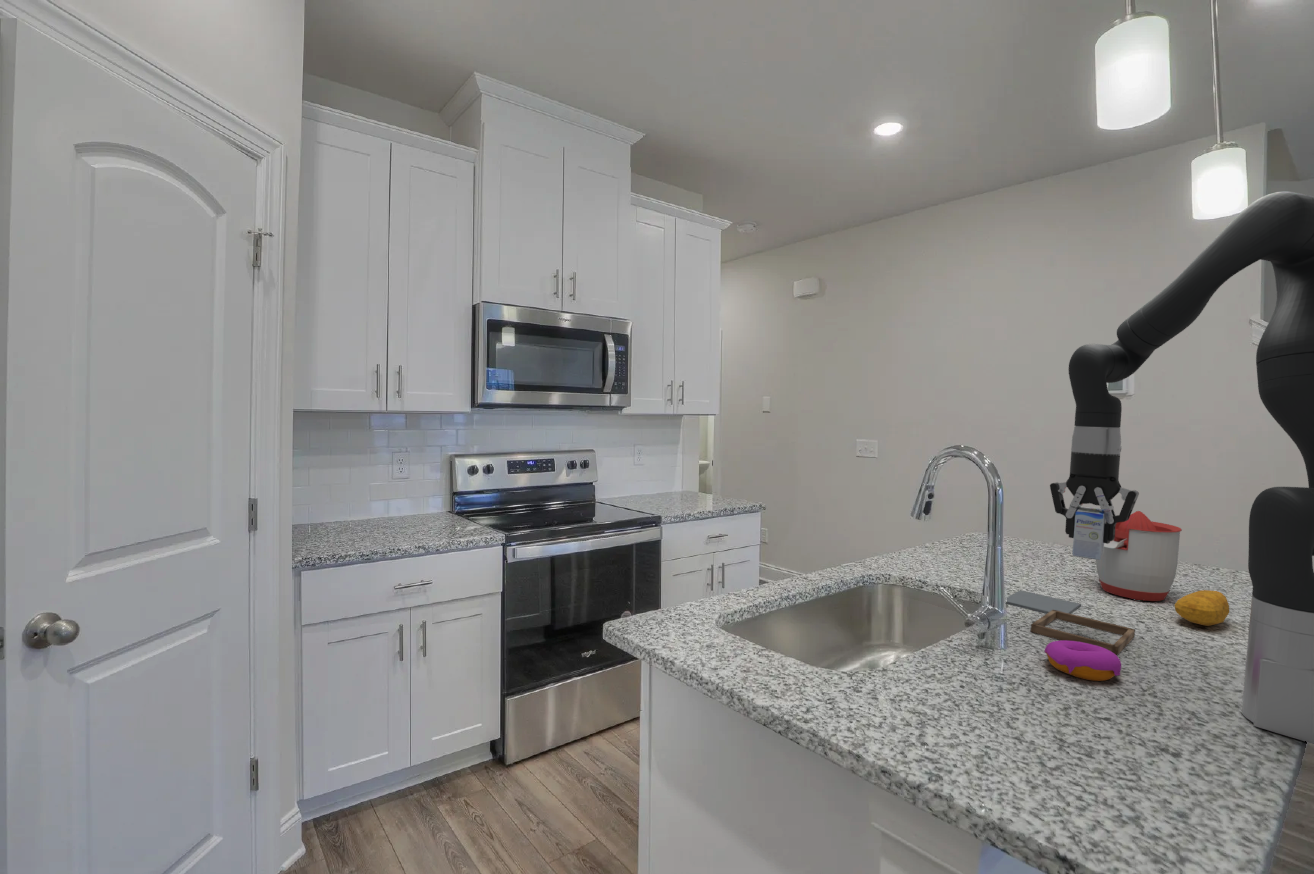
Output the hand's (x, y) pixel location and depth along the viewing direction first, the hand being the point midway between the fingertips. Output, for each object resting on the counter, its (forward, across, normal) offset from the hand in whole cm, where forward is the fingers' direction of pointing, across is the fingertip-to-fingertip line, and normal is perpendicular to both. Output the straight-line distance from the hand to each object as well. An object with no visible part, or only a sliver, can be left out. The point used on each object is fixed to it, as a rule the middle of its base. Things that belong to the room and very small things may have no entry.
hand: (1089, 539), depth 115 cm
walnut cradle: (+18, 0, 0) cm, 18 cm away
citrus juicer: (+18, 0, +40) cm, 44 cm away
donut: (+19, +4, -20) cm, 28 cm away
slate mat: (+18, -11, +14) cm, 26 cm away
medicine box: (+3, 0, 0) cm, 3 cm away
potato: (+19, +14, +28) cm, 37 cm away
